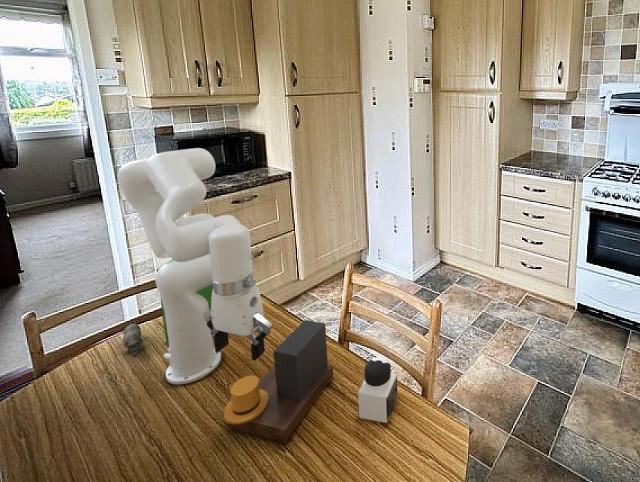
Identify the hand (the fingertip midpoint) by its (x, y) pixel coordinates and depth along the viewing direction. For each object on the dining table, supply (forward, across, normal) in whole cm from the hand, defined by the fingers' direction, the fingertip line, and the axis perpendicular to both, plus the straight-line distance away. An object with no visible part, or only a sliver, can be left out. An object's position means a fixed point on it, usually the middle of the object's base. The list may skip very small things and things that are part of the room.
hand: (240, 352), depth 83 cm
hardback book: (+19, +41, -25) cm, 52 cm away
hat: (+14, -1, 0) cm, 14 cm away
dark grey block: (+14, -9, -10) cm, 19 cm away
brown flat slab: (+18, -6, -6) cm, 20 cm away
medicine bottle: (+18, -29, -10) cm, 35 cm away
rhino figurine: (+19, +49, -11) cm, 54 cm away
